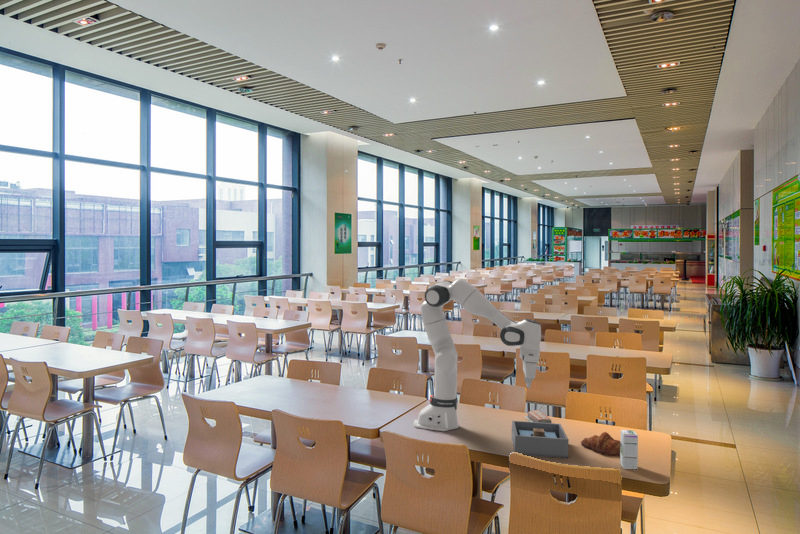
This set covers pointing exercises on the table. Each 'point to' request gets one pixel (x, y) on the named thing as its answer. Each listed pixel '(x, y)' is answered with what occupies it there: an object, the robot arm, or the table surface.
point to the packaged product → (537, 417)
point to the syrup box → (629, 449)
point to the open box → (539, 439)
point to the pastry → (602, 444)
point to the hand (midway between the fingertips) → (527, 385)
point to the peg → (538, 432)
